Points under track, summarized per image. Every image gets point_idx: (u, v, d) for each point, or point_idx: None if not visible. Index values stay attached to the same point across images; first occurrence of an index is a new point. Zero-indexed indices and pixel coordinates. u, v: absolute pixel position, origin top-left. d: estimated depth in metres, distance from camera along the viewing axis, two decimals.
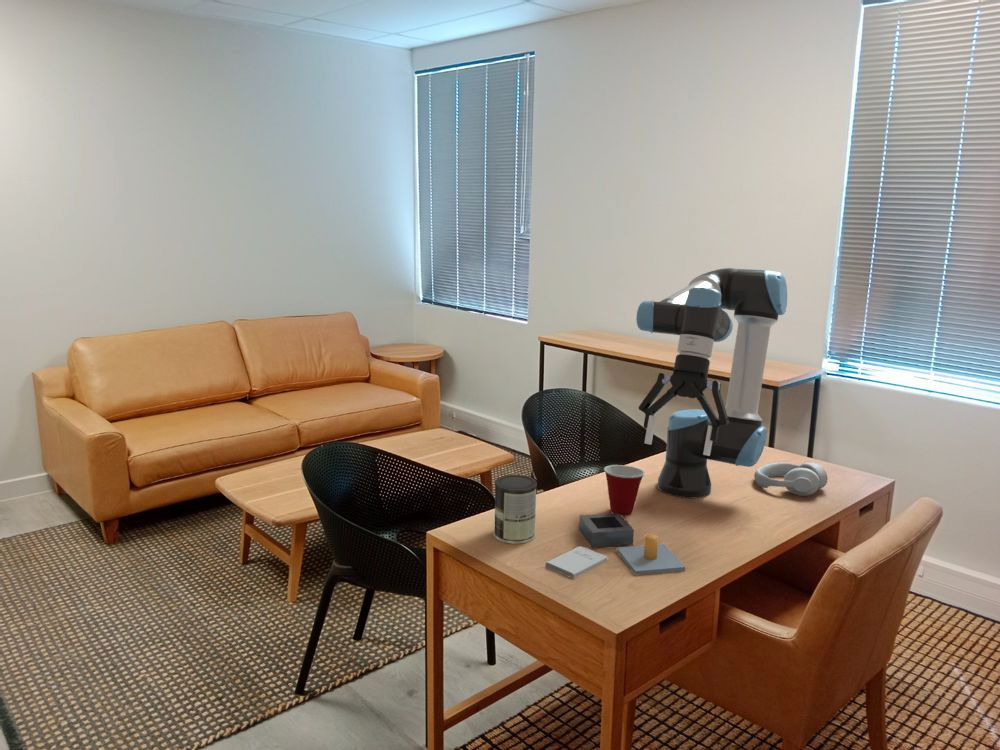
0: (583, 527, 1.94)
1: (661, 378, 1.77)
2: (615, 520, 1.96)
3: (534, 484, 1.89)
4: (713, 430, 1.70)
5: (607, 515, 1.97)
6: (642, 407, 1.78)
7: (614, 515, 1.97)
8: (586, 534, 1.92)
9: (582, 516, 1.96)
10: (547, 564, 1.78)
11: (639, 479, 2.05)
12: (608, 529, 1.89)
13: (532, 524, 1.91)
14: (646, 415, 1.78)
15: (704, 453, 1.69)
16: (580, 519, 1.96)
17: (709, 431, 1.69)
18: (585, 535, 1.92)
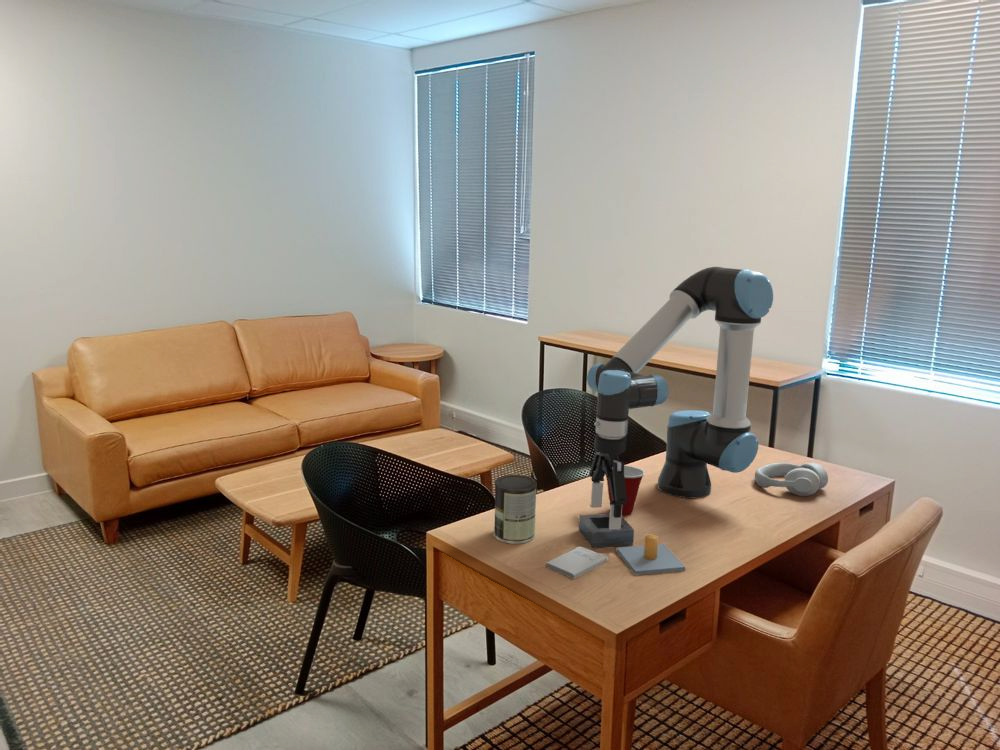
0: (582, 527, 1.94)
1: (596, 451, 1.94)
2: None
3: (534, 484, 1.89)
4: (614, 507, 1.84)
5: (607, 515, 1.97)
6: (590, 474, 1.99)
7: None
8: (586, 534, 1.92)
9: (582, 516, 1.96)
10: (547, 564, 1.77)
11: (639, 479, 2.05)
12: (608, 529, 1.89)
13: (532, 524, 1.91)
14: (593, 481, 1.98)
15: (609, 527, 1.85)
16: (580, 519, 1.96)
17: (610, 508, 1.84)
18: (585, 535, 1.92)
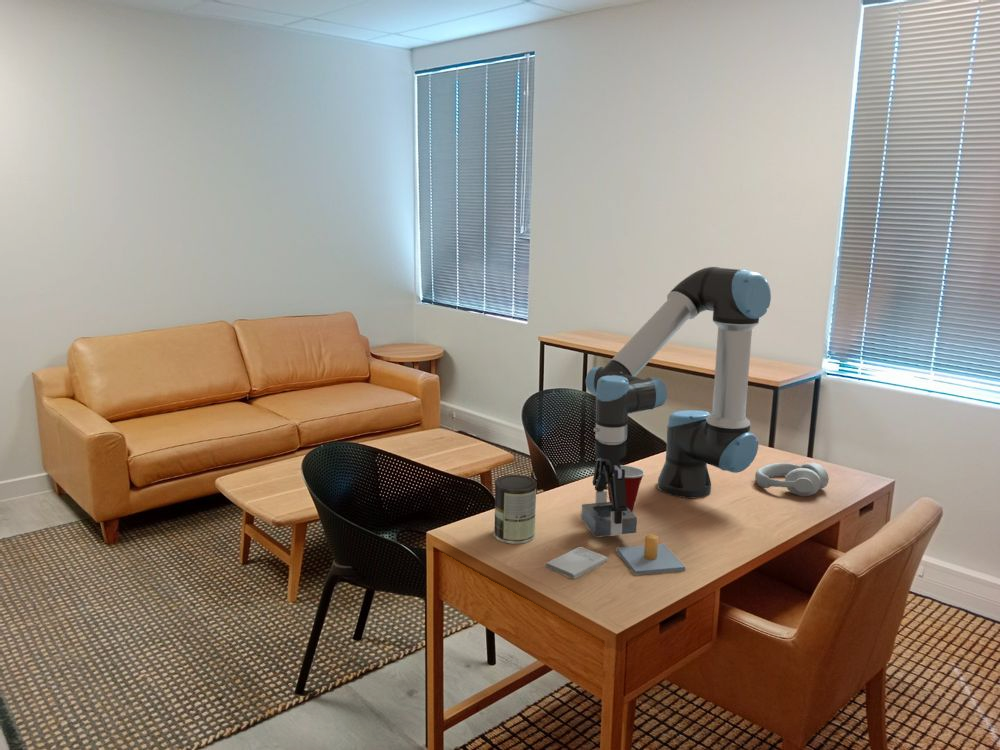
0: (585, 516, 1.94)
1: (597, 457, 1.95)
2: None
3: (534, 484, 1.89)
4: (615, 514, 1.86)
5: (610, 503, 1.97)
6: (593, 483, 1.99)
7: None
8: (589, 523, 1.91)
9: (585, 505, 1.96)
10: (547, 565, 1.77)
11: (639, 479, 2.05)
12: None
13: (532, 524, 1.91)
14: (597, 490, 1.98)
15: (610, 533, 1.88)
16: (583, 508, 1.96)
17: (611, 515, 1.86)
18: (588, 524, 1.92)
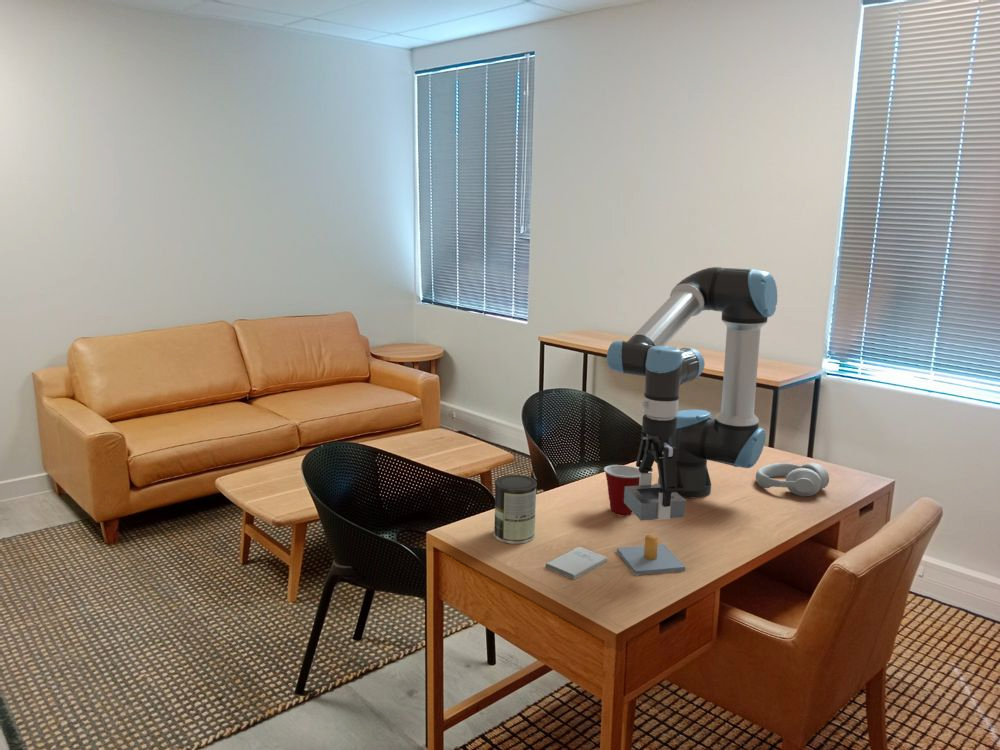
0: (629, 498, 1.79)
1: (642, 436, 1.80)
2: None
3: (534, 484, 1.89)
4: (663, 496, 1.71)
5: (655, 486, 1.82)
6: (637, 464, 1.84)
7: None
8: (633, 506, 1.77)
9: (628, 487, 1.81)
10: (547, 565, 1.77)
11: None
12: None
13: (532, 524, 1.91)
14: (640, 472, 1.84)
15: (657, 517, 1.73)
16: (626, 490, 1.81)
17: (659, 497, 1.72)
18: (632, 507, 1.77)
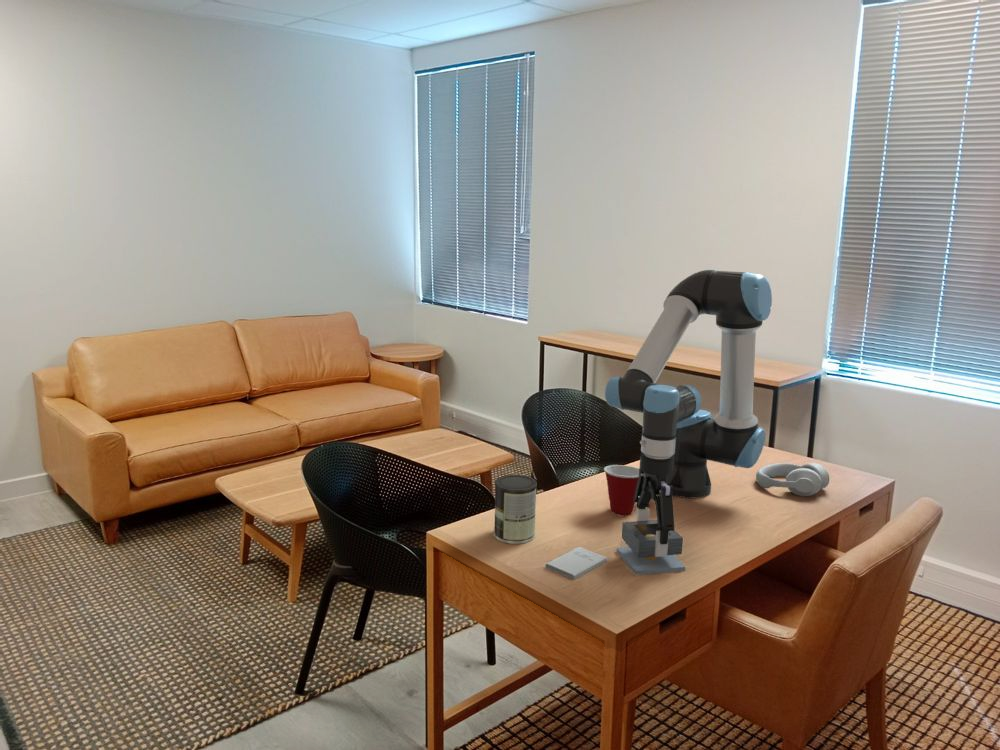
0: (627, 535, 1.81)
1: (640, 472, 1.83)
2: None
3: (534, 484, 1.89)
4: (660, 534, 1.73)
5: (652, 522, 1.84)
6: (635, 499, 1.86)
7: None
8: (631, 543, 1.79)
9: (626, 523, 1.83)
10: (547, 565, 1.77)
11: None
12: (655, 537, 1.76)
13: (532, 524, 1.91)
14: (638, 508, 1.86)
15: (655, 554, 1.75)
16: (623, 526, 1.83)
17: (656, 534, 1.74)
18: (630, 543, 1.79)
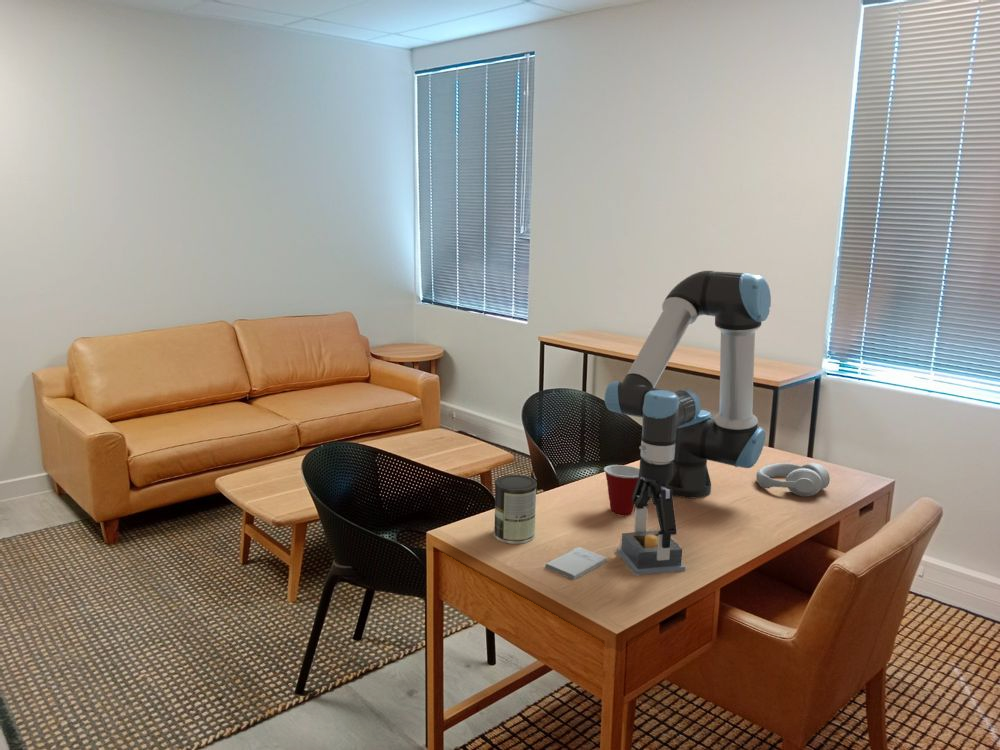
0: (626, 546, 1.82)
1: (640, 475, 1.83)
2: None
3: (534, 484, 1.89)
4: (663, 537, 1.72)
5: (652, 533, 1.85)
6: (633, 499, 1.87)
7: None
8: (630, 554, 1.79)
9: (625, 534, 1.84)
10: (547, 566, 1.77)
11: None
12: (655, 548, 1.76)
13: (532, 524, 1.91)
14: (636, 507, 1.87)
15: (657, 558, 1.74)
16: (623, 537, 1.84)
17: (659, 538, 1.73)
18: (629, 555, 1.80)
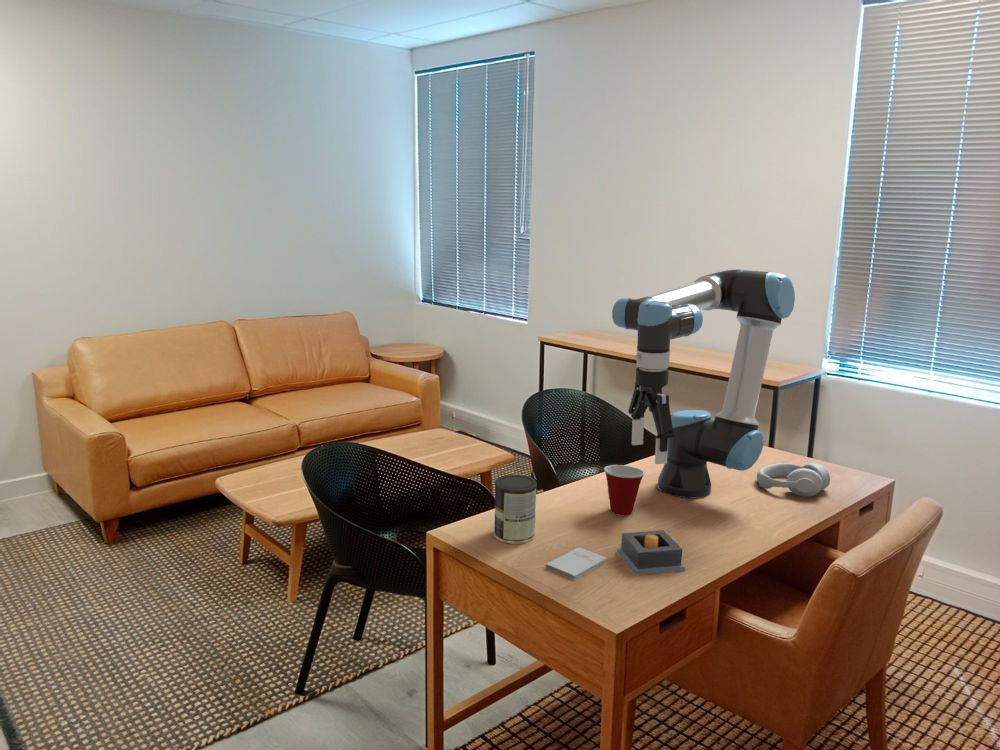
0: (626, 546, 1.82)
1: (636, 386, 1.89)
2: (660, 538, 1.84)
3: (534, 484, 1.89)
4: (660, 441, 1.79)
5: (652, 533, 1.85)
6: (629, 411, 1.94)
7: (659, 533, 1.85)
8: (630, 554, 1.79)
9: (625, 534, 1.84)
10: (547, 566, 1.77)
11: (639, 479, 2.05)
12: (655, 548, 1.76)
13: (532, 524, 1.91)
14: (633, 418, 1.93)
15: (655, 462, 1.81)
16: (623, 537, 1.84)
17: (656, 442, 1.79)
18: (629, 555, 1.80)
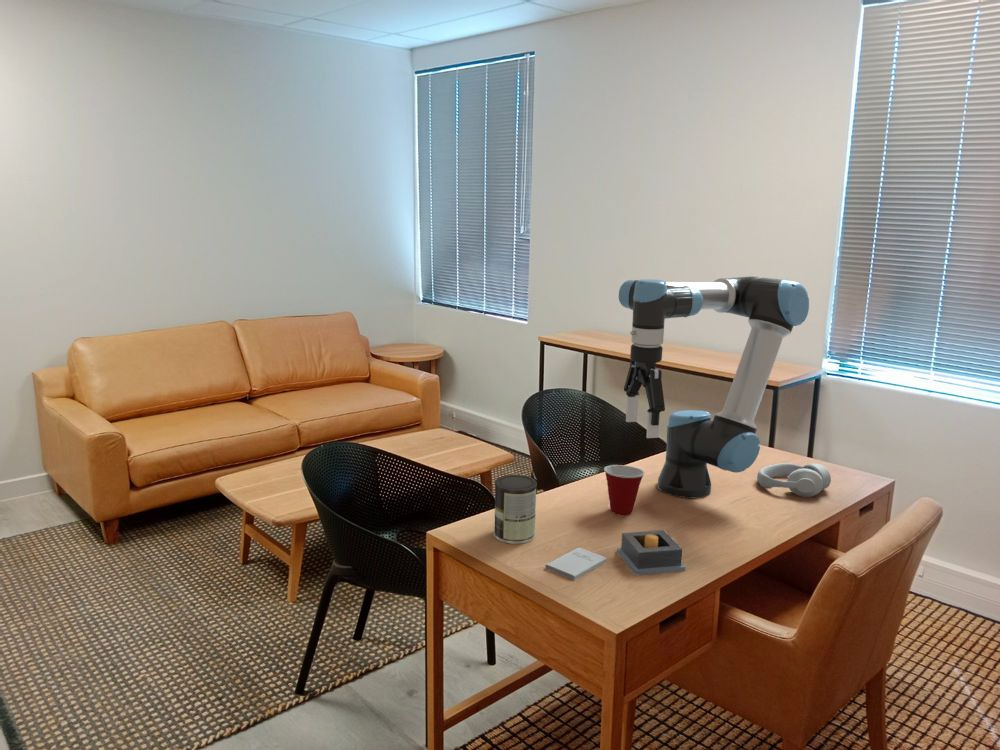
0: (626, 546, 1.82)
1: (631, 364, 1.94)
2: (660, 538, 1.84)
3: (534, 484, 1.89)
4: (652, 415, 1.84)
5: (652, 533, 1.85)
6: (625, 389, 1.99)
7: (659, 533, 1.85)
8: (630, 554, 1.79)
9: (625, 534, 1.84)
10: (547, 566, 1.77)
11: (639, 479, 2.05)
12: (655, 548, 1.76)
13: (532, 524, 1.91)
14: (628, 396, 1.98)
15: (646, 436, 1.86)
16: (623, 537, 1.84)
17: (648, 416, 1.84)
18: (629, 555, 1.80)
